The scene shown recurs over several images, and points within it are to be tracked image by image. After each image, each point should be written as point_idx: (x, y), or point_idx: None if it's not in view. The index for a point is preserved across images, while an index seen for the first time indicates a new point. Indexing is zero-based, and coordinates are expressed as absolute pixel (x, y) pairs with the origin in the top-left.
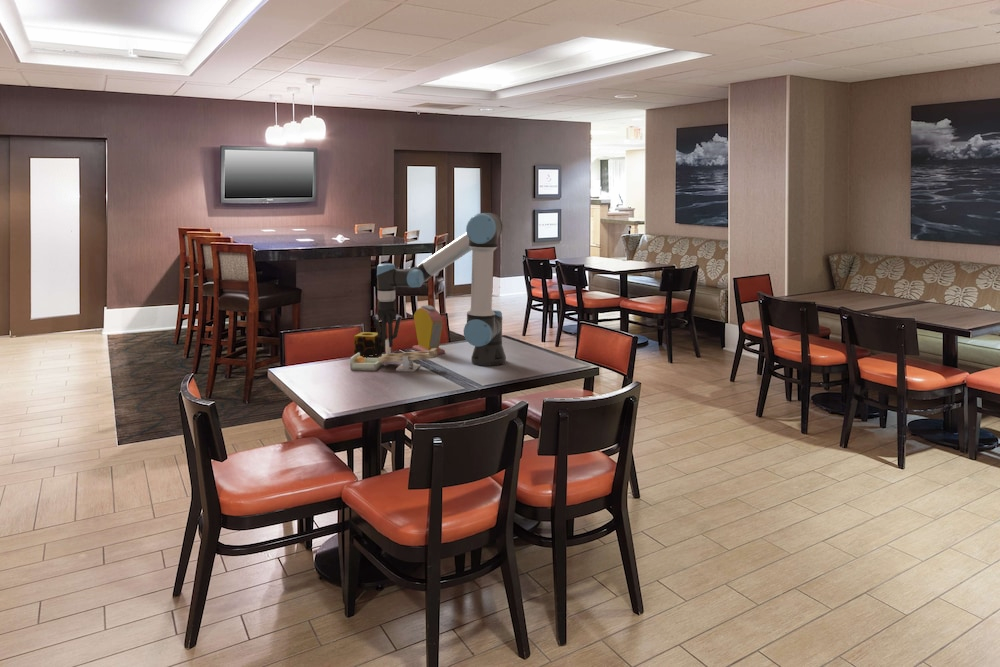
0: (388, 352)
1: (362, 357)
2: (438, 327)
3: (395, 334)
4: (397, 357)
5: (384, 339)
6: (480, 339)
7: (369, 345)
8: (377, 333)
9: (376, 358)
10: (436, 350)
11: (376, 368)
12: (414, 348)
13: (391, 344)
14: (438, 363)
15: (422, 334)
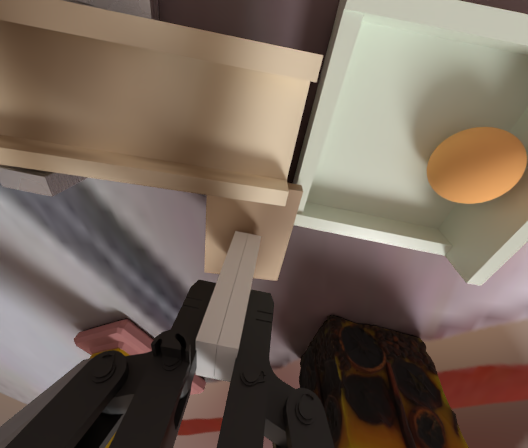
0: (236, 244)
1: (476, 164)
2: None
3: (46, 415)
4: (72, 4)
5: (248, 360)
6: None
7: (366, 386)
8: None
9: (329, 220)
10: None
11: (330, 39)
12: (195, 378)
13: (189, 299)
14: (4, 201)
15: None
